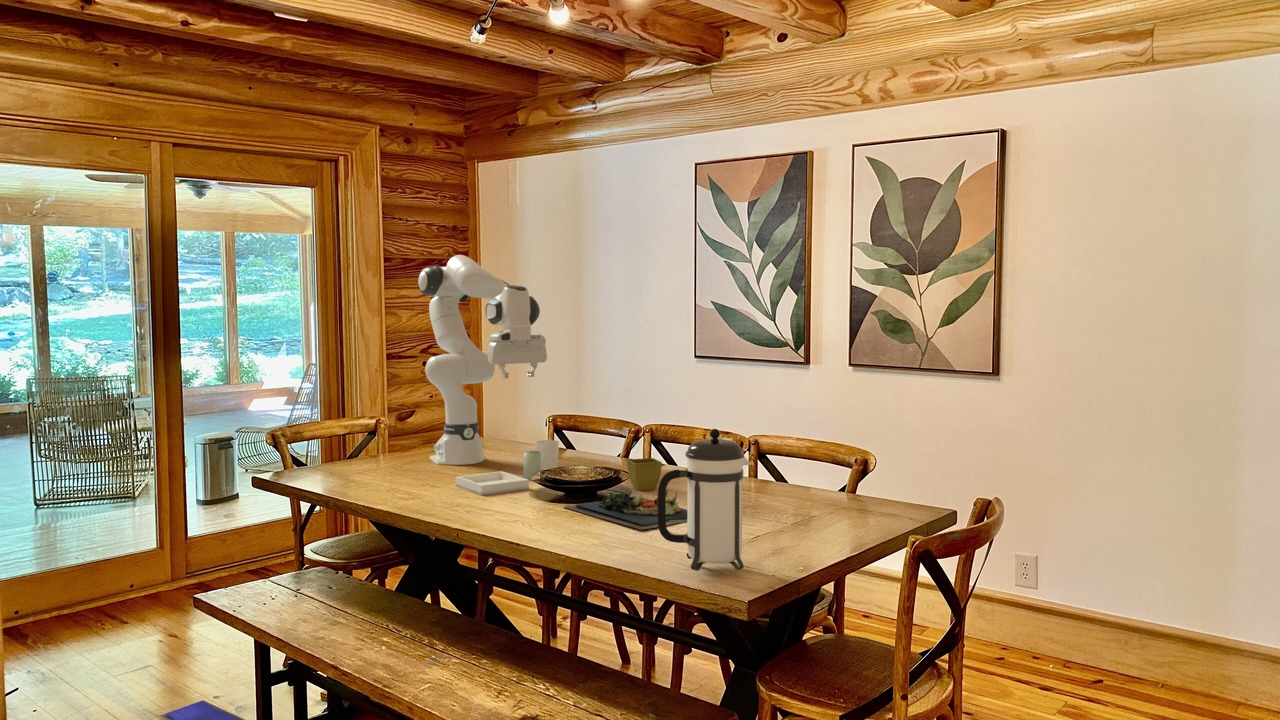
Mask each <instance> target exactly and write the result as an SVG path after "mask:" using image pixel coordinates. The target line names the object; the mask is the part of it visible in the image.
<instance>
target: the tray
mask: <svg viewBox="0 0 1280 720" xmlns="http://www.w3.org/2000/svg"><path fill="white" fill-rule="evenodd" d="M455 486H456V487H458V488H460V489H463V490H466V491H467V492H468V491H469V492H471V493H474V494H476V495H479V496H489V495H490V496H491V495H495V494H504V493H512V492H518V491H520V492H521V491H528V490H530V487H529V480H528V479H524V477H521V476H517V475H515V474H511V473H509V472H506V471H502V470H501V471H493V472H483V473H476V474H467V475H460V476H455Z"/></svg>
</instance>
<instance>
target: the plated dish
mask: <svg viewBox="0 0 1280 720" xmlns="http://www.w3.org/2000/svg"><path fill="white" fill-rule="evenodd" d="M608 494H609V496H605V498H603V499H602V500H601V501H592V502H583V503H578V504H574V505H567V506H563V508H564V509H568V510H572V511H575V512H578V513H581V514H586V515H590V516H592V517H596V518H599V519H602V520H606V521H609V522H610V521H611V522H613V523H617V524H620V525H623V526H627V527H630V528H635V529H637V530H641V531H643V530H647V529H648V530H649V529H654V528H659V527H658V497H656V498H654V499H653V500H652V499H650V498H649V499H648V498H645V497H643V494H642V493H641V492H640V493H639V495H633V496H632V495H631V491H625V490H624V491H620V492H617V493H615V491H614V490H610V491H609V492H608ZM678 494H679V492H678V491H676V493H675V496H674V497H672V496H670V495H669V496H668V489H666V526H671V525H675V524H681V523H687V509H686V508H682V507H680V505H679V504H678V501H677V498H678Z"/></svg>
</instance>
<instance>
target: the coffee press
mask: <svg viewBox="0 0 1280 720" xmlns="http://www.w3.org/2000/svg"><path fill="white" fill-rule="evenodd" d="M709 436H710V437H711V438H709V439H708V438H707V439H699V440H696V441H694V442H692V443H691V444H690V445H689V446H688V448H687V450H686V451H685V457H686V459H687V468H686V469H673V470H670V471H668V472H666V473H665V474H664V475H663V476H662V477H661V478H660V480H659V483H658V485H657V486H658V487H657V498H658V527H657V528H658V530H659V532H660V535H661V536H662V537H663V539H665V540H666V541H668V542H671V543H678V544H679V543H680V544H687V553H686V558H687V559H689V560H692V562H691V564H690V568H691V570H693V571H696V572H699V571H700V569H701V567H702V566H703V565H704V564H727V563H729V564H731V565H732V566H733V568H734V570H735V571H740V570H743V568H744V567H745V566H744V565H745V564H744V563H743V561H742V559H741V556H742V552H743V551H742V550H743V549H742V547H743V542H742V541H743V479H744V469H743V467H744V466H751V462H750V461H749V460H748V459H747V458H746V457H745V452H744V451H743V450H742V447H741V446H740V444H738V443H737V442H735V441H733V440H729V439H721V438H719V437H720V436H721V433H720V430H719V429H716V428H713V429H711V430H710V431H709ZM680 478H687V482H686V483H687V484H686V485H687V493H686V494H687V495H686V496H687V504H686V505H687V509H686V510H687V522H686V523H687V528H686V529H687V532H686V533H684V534H675V533H671V532H670V531H669V530H668V528H667V525H666V497H667V496H666V490H667V488H668V484H669V483H670V482H671V481H673V480H675V479H680Z"/></svg>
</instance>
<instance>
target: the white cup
mask: <svg viewBox="0 0 1280 720" xmlns="http://www.w3.org/2000/svg"><path fill="white" fill-rule="evenodd" d="M559 445H560V441H559V440H554V439H544V440H542V439H541V440H537V441H535V451H540V452H541V470H545V469H550V468H557V469H558V463H559V451H560V449H559Z"/></svg>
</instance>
